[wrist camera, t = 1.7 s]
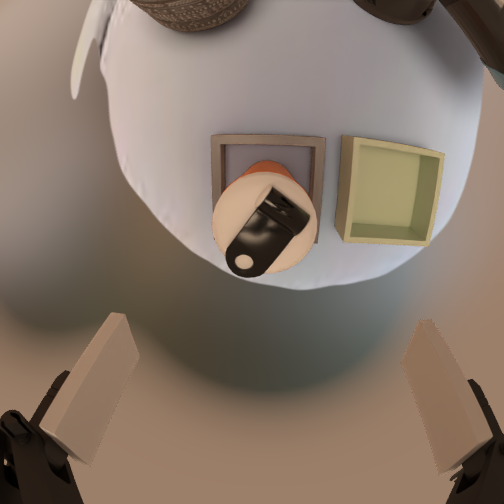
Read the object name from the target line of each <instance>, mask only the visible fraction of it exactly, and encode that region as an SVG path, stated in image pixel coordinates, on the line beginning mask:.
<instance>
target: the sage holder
mask: <svg viewBox="0 0 504 504" xmlns="http://www.w3.org/2000/svg"><path fill="white" fill-rule="evenodd" d="M444 156H445V153H441V152H437V151H433V150H429V149H425V148H420V147H415V146H410V145H405V144H400V143H394V142H388V141H382V140H375V139H369V138H361V137H353V136H345V135H342V145H341V161H340V175H339V187H338V198H337V208H336V217H335V228H336V230H337V232H338V233H339V235H340V237H341V239H342V241H343V242H349V243H371V244H391V245H410V246H429V243H430V239H431V234H432V230H433V225H434V221H435V216H436V211H437V205H438V200H439V194H440V187H441V181H442V173H443V165H444Z"/></svg>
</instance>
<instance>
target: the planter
mask: <svg viewBox="0 0 504 504" xmlns="http://www.w3.org/2000/svg"><path fill="white" fill-rule="evenodd" d="M130 1H131V2H133V3H134V4H135V5H137V6H138V7H139V8H141V9H142V10H143V11H145V12H146V13H148V14H149V15H150V16H151V17H152V18H153V19H155V20H156V21H157V22H159V23H160V24H162V25H163V26H165V27H167V28H170V29H173V30H177V31H186V32H191V31H201V30H206V29H210V28H213V27H216V26H219V25H221V24H223V23H225V22H227V21H229V20H230V19H232V18H233V17H235V16H236V15H237V14H238V13H240V12H241V11H242V10H243V9H244V7H245V6H246V5H247V3H248V2H249V0H130Z"/></svg>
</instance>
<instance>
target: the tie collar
mask: <svg viewBox="0 0 504 504" xmlns="http://www.w3.org/2000/svg"><path fill="white" fill-rule="evenodd" d="M325 139H326V138H322V137H310V136H294V135H269V134H219V135H211V168H212V201H213V212H214V209H215V206H216V204H217V202H218V200H219V199H220V197H221V195H222V193H223V192H224V190H225V144H269V145H294V146H311V147H312V156H311V175H310V192H309V197H310V199H311V202H312V204H313V207H314V209H315V212H316V218H317V233H316V237H315V241H314V243H318V234H319V224H320V213H321V202H322V189H323V175H324V159H325ZM214 240H215V238H214Z"/></svg>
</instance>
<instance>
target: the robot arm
mask: <svg viewBox="0 0 504 504" xmlns="http://www.w3.org/2000/svg"><path fill="white" fill-rule="evenodd" d="M354 1H355V2H356V3H357V4H358V5H359V6H360V7H362V8H363V9H364V10H366V11H367V12H369V13H370V14H372V15H374V16H376V17H378V18H380V19H382V20H385V21H387V22H391V23H394V24H401V25H410V24H414V23H417V22H419V21H421V20H423V19H424V18H426V17H427V16H428V15H429V14H430V13H431V11H432V9H433V7H434V4H435V2H436V0H354ZM439 1H440V2H441V4H442V5H443V6H444V7H445V9H446V10H447V11H448V12H449V13H450V15H451V16H452V17H453V18H454V20H455V21H456V22H457V24H458V25H459V26H460V28H461V29H462V30H463V32H464V33H465V35H466V36H467V37H468V39H469V40H470V42H471V43H472V45H473V46H474V48H475V49H476V51H477V53H478V54H479V56H480V59H481V61H482V63H483V64H484V65H485V66H486V67H487V68H488V70H489V71H490V73H491V75H492V76H493V78H494V80H495V81H496V83H497V84H498V85H499V87H500V88H502V89H503V90H504V0H439ZM139 357H140V356H139V354H138V351H137V348H136V345H135V343H134V340H133V337H132V334H131V331H130V328H129V325H128V322H127V319H126V315H125V314H119V313H111V314H110V315H109V316H108V318H107V319H106V321H105V322H104V324H103V325H102V326H101V328H100V329H99V331H98V332H97V333H96V335H95V336H94V338H93V339H92V341H91V342H90V343H89V345H88V346H87V348H86V349H85V351H84V352H83V354H82V356H81V357H80V358H79V360H78V361H77V363H76V365H75V366H74V368H73V370H72V371H71V372H69V371H66V370H65V371H64V372H63V373H61V374H60V375H59V376H58V377H57V378H56V379H55V381H54V382H53V384H52V385H51V388H50V389H49V390H48V392H47V395H46V396H45V397H44V398H43V400H42V401H41V403H40V405H39V406H38V408H37V410H36V412H35V413H34V415H33V417H32V418H31V420H30V421H29V422H28V421H27V420H26V419H25V418H24V417H23V415H22V414H21V413H20V412H19V411H16V410H9V411H7V412H5V413H4V414H3V415H2V416H1V418H0V504H84V503H83V501H82V498H81V496H80V493H79V490H78V487H77V485H76V482H75V479H74V476H73V473H72V470H71V467H70V464H69V462H68V460H67V457H68V455H70V456H71V457H72V458H73V459H74V460H75V461H78V462H80V463H82V464H84V465H87V466H89V467H91V464H92V462H93V459H94V457H95V454H96V452H97V450H98V447H99V445H100V442H101V440H102V438H103V435H104V433H105V431H106V428H107V426H108V424H109V421H110V419H111V417H112V415H113V412H114V410H115V408H116V406H117V404H118V401H119V399H120V397H121V395H122V393H123V390H124V388H125V386H126V384H127V382H128V380H129V378H130V376H131V374H132V372H133V369H134V367H135V365H136V363H137V361H138V359H139ZM401 365H402V367H403V370H404V372H405V374H406V377H407V380H408V382H409V385H410V387H411V390H412V393H413V395H414V398H415V401H416V404H417V406H418V409H419V412H420V415H421V418H422V421H423V424H424V427H425V430H426V433H427V436H428V439H429V443H430V446H431V449H432V453H433V456H434V460H435V463H436V467H437V471H438V475H439V476H440V475H442V474H445V473H448V472H450V471H453V470H454V469H456V468H457V467H458V466H460V465H461V464H462V466H463V468H462V469H461V470H460V471H458V472H457V473H456V474H454V475H453V476H452V477H451V478H450V481H452V480H453V479H455V478H456V477H457V479H456V480H455V481H454V482H455V485H454V487H453V489H452V491H451V493H450V495H449V498H448V500H447V502H446V504H504V434H503V433H502V431H501V429H500V427H499V425H498V422H497V420H496V418H495V416H494V414H493V412H492V409H491V407H490V405H488V401H487V399H486V398H485V395H484V393H483V391H482V389H481V387H480V386H479V385H478V384H477V383H476V382H475V381H474V380H473V379H470V380H467V379H466V377H465V375H464V373H463V372H462V370H461V368H460V366H459V364H458V362H457V361H456V359H455V357H454V355H453V354H452V352H451V350H450V348H449V347H448V345H447V344H446V342H445V340H444V338H443V337H442V335H441V333H440V332H439V330H438V328H437V327H436V326H435V324H434V322H433V321H432V319H429V320H419V321H418V323H417V326H416V328H415V331H414V333H413V336H412V338H411V341H410V343H409V345H408V347H407V350H406V352H405V354H404V356H403V359H402V361H401ZM4 459H6V460H7V465H4Z"/></svg>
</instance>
